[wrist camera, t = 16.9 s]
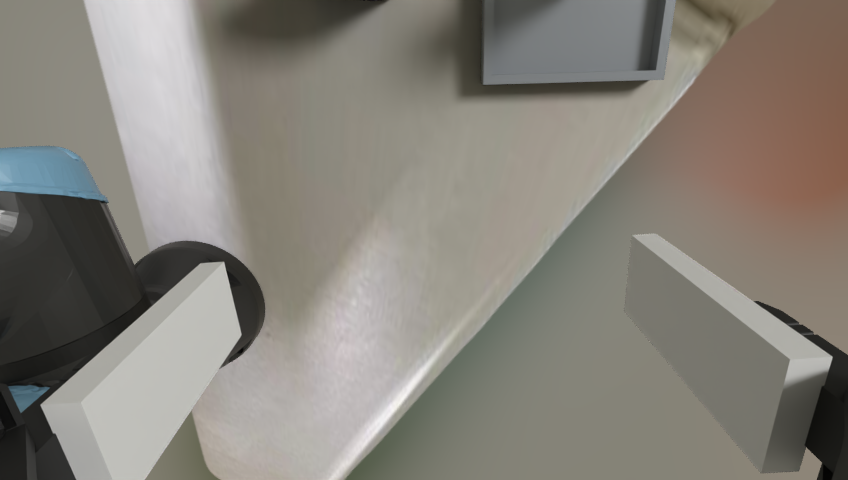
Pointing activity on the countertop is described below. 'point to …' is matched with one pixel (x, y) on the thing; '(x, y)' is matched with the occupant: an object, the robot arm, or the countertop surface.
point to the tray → (574, 40)
